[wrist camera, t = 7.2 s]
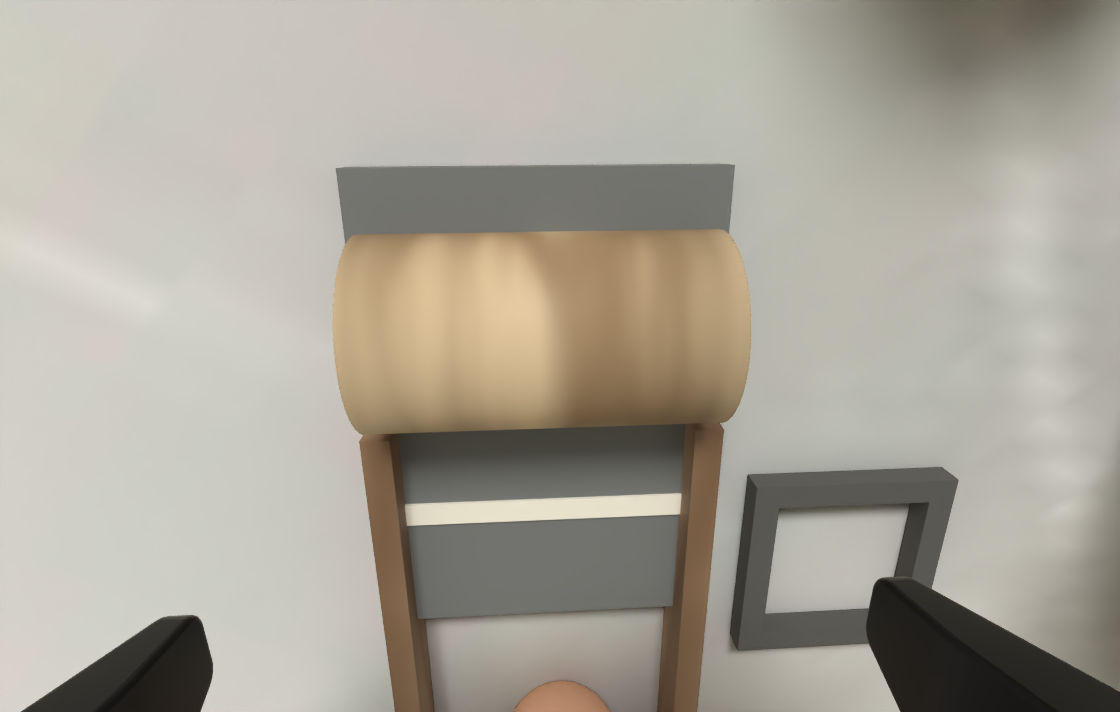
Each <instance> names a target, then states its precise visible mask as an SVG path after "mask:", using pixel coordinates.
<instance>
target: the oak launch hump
mask: <svg viewBox="0 0 1120 712" xmlns="http://www.w3.org/2000/svg"><path fill="white" fill-rule="evenodd" d="M333 341H334V354H335V363H336V371H337V377H338V383H339V388H340V393H341V397H342V400H343V404H344V407H345V410H346V413H347V415H348V418H349V420H350V422H351V424H352V425H353V427H354V428H355V430H356V431H358V432H359V433H360V434H363V435H367V434H397V433H426V432H456V431H486V430H516V429H546V428H576V427H606V426H636V425H666V424H695V423H723V422H726V421H728V420H729V419H730V418H731V417H732V416H733V414H734V413H735V411H736V409H737V407H738V405H739V403H740V401H741V398H742V395H743V391H744V388H745V384H746V379H747V374H748V367H749V360H750V348H751V310H750V298H749V290H748V283H747V278H746V273H745V269H744V265H743V261H742V258H741V255H740V252H739V250H738V248H737V246H736V243H735V242H734V240H733V239H732V237H731V236H730V235H729V234H728V233H727V232H726V231H724V230H721V229H686V230H619V231H551V232H483V233H415V234H356V235H353V236H352V237H350V238H349V240H348V241H347V243H346V244H345V246H344V249H343V251H342V254H341V257H340V261H339V265H338V269H337V275H336V281H335V290H334V303H333Z"/></svg>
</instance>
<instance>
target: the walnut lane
mask: <svg viewBox="0 0 1120 712" xmlns="http://www.w3.org/2000/svg"><path fill="white" fill-rule="evenodd" d="M723 433H724V429H723V428H722V426H721V425H720V423H695V424H686V425H685V439H684V453H683V467H682V481H681V509H680V514H679V523H678V538H677V552H676V566H675V580H674V594H673V606H664V619H663V635H662V650H661V665H660V681H659V696H658V711H657V712H697V707H698V696H699V686H700V675H701V665H702V654H703V644H704V633H705V623H706V612H707V601H708V591H709V580H710V570H711V559H712V549H713V538H714V528H715V517H716V507H717V496H718V486H719V475H720V465H721V454H722V444H723ZM359 443H360V451H361V458H362V466H363V473H364V481H365V488H366V496H367V503H368V511H369V519H370V526H371V534H372V541H373V549H374V556H375V564H376V571H377V579H378V586H379V594H380V601H381V609H382V616H383V624H384V631H385V639H386V646H387V654H388V661H389V669H390V676H391V684H392V691H393V699H394V706H395V712H434V702H433V693H432V683H431V673H430V664H429V654H428V644H427V635H426V625H425V619H418V616H417V607H416V598H415V589H414V579H413V570H412V561H411V552H410V542H409V533H408V526H407V522H406V513H405V496H404V487H403V478H402V469H401V459H400V450H399V441H398V433H397V434H367V435H363V436H362V438H361V440H360V442H359Z"/></svg>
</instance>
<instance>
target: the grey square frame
mask: <svg viewBox="0 0 1120 712" xmlns="http://www.w3.org/2000/svg"><path fill="white" fill-rule="evenodd" d="M957 484H958V479H957V478H956V477H954V476H953V475H952V474H950V473H949V472H948V471H946V470H945V469H944V468H942V467H933V468H907V469H881V470H855V471H829V472H803V473H777V474H752V475H748V480H747V489H746V498H745V507H744V515H743V524H742V533H741V542H740V551H739V559H738V568H737V577H736V586H735V595H734V603H733V612H732V621H731V630H730V634H731V636H732V639H733V641H734V643H735V646H736V648H737V650H738V651H743V650H761V649H779V648H797V647H815V646H833V645H850V644H868V643H869V642H868V639H867V635H866V620H867V616H868V611H869V609H852V610H832V611H813V612H794V613H775V614H765V609H766V601H767V594H768V587H769V579H770V572H771V565H772V557H773V550H774V543H775V535H776V528H777V521H778V513H779V509H781V508H805V507H829V506H853V505H877V504H900V503H911V506H910V510H909V515H908V519H907V524H906V528H905V533H904V537H903V542H902V546H901V551H900V555H899V560H898V564H897V569H896V573H895V577H909V578H912V579H914V580H916V581H918V582H919V583H921V584H923V585H925V586H927V587H929V588H930V589H931V588H932V584H933V580H934V576H935V572H936V568H937V564H938V560H939V556H940V552H941V548H942V544H943V540H944V536H945V532H946V528H947V524H948V520H949V516H950V512H951V508H952V504H953V500H954V496H955V492H956V488H957Z"/></svg>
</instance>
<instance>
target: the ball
mask: <svg viewBox="0 0 1120 712" xmlns="http://www.w3.org/2000/svg"><path fill="white" fill-rule="evenodd" d="M513 712H610V710H609V709H608V707H607V706H606V704H605V703H604V702H603V701H602V700H601V698H600V697H599V696H598V695H596V694H595V693H594V692H593V691H591V690H590V689H588V688H587V687H585V686H583V685H580V684H578V683H574V682H570V681H554V682H549V683H546V684H543V685H541V686H539V687H537V688H535V689H534V690H532V691H531V692H529V693H528V694H527V695H526V696H525V697H524V698H523V699H522V700H521V701H520V702H519V704H518V705H517V707H516V708H515V710H514V711H513Z"/></svg>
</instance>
